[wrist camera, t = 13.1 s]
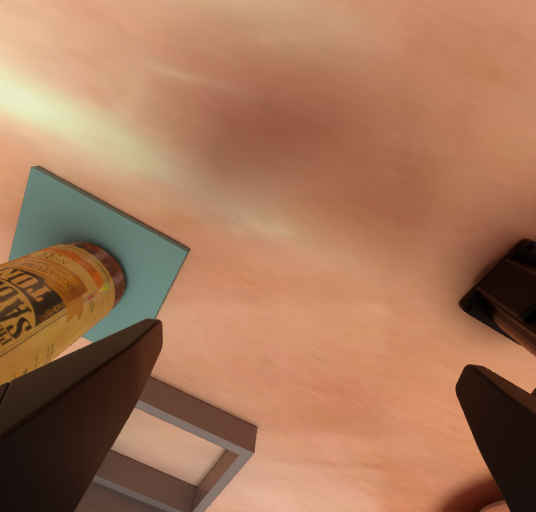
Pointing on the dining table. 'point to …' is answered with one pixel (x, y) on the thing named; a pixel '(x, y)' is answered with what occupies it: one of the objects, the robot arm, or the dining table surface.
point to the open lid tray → (160, 484)
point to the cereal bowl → (496, 507)
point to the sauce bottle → (53, 302)
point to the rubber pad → (100, 245)
